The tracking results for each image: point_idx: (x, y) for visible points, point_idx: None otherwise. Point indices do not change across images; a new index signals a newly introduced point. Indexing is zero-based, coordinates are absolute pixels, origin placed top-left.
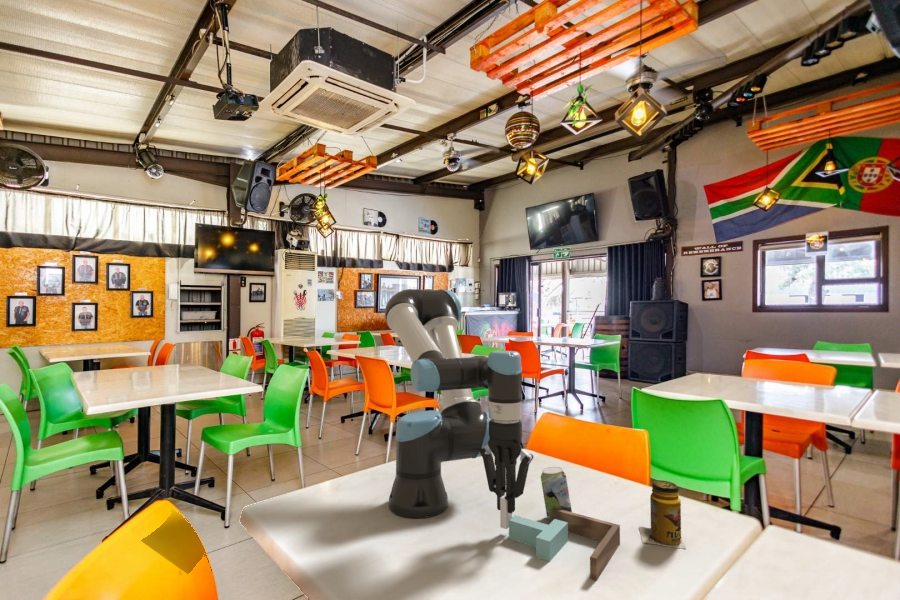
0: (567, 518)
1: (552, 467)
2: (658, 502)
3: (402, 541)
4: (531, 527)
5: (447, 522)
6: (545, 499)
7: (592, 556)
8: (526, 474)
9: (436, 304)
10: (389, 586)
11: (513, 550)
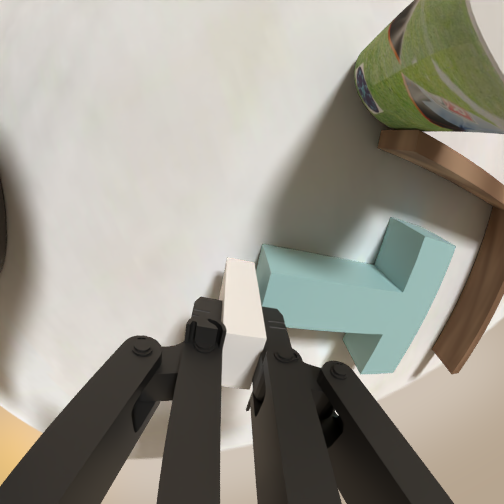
0: (448, 173)
1: None
2: None
3: (48, 373)
4: (347, 331)
5: (44, 267)
6: (396, 97)
7: (455, 371)
8: (418, 473)
9: None
10: (135, 453)
11: None
